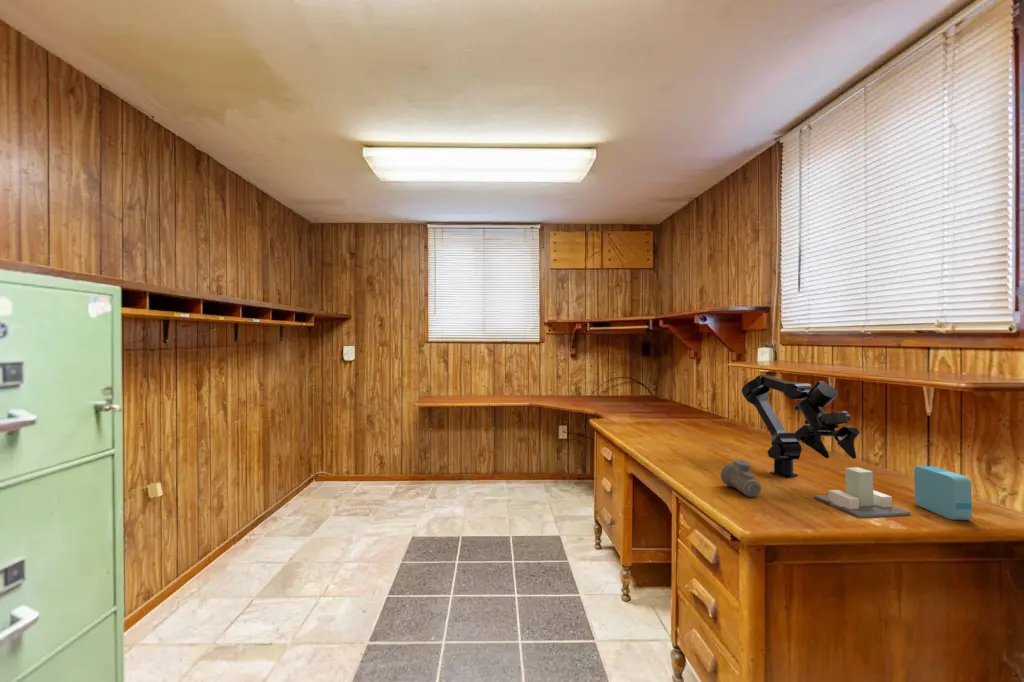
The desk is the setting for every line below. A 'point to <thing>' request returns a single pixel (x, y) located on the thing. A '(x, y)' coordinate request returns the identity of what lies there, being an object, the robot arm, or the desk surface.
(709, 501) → the desk surface
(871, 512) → the mounting plate
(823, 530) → the desk surface
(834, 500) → the mounted modules
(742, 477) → the pipe fitting
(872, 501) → the block
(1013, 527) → the desk surface
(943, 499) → the data package
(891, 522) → the desk surface
